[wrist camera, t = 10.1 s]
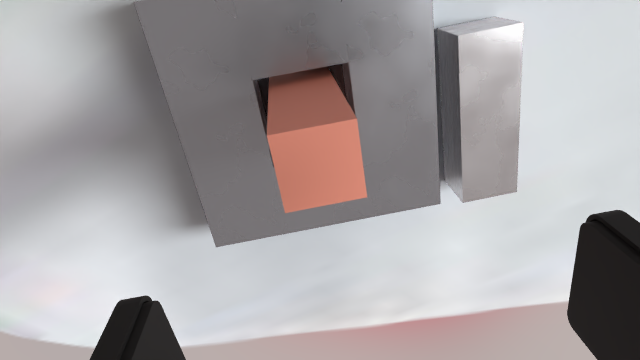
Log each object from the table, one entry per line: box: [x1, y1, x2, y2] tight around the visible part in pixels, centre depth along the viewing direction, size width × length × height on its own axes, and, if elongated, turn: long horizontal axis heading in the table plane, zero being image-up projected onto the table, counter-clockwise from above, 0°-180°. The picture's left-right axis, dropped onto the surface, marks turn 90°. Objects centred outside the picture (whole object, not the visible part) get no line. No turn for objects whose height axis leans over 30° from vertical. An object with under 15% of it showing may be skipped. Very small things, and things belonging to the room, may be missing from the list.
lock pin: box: [267, 66, 367, 213], centre depth 21 cm, size 3×3×10 cm
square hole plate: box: [134, 0, 440, 247], centre depth 24 cm, size 14×14×3 cm
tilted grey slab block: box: [437, 17, 524, 203], centre depth 25 cm, size 10×3×3 cm, turn 10°
